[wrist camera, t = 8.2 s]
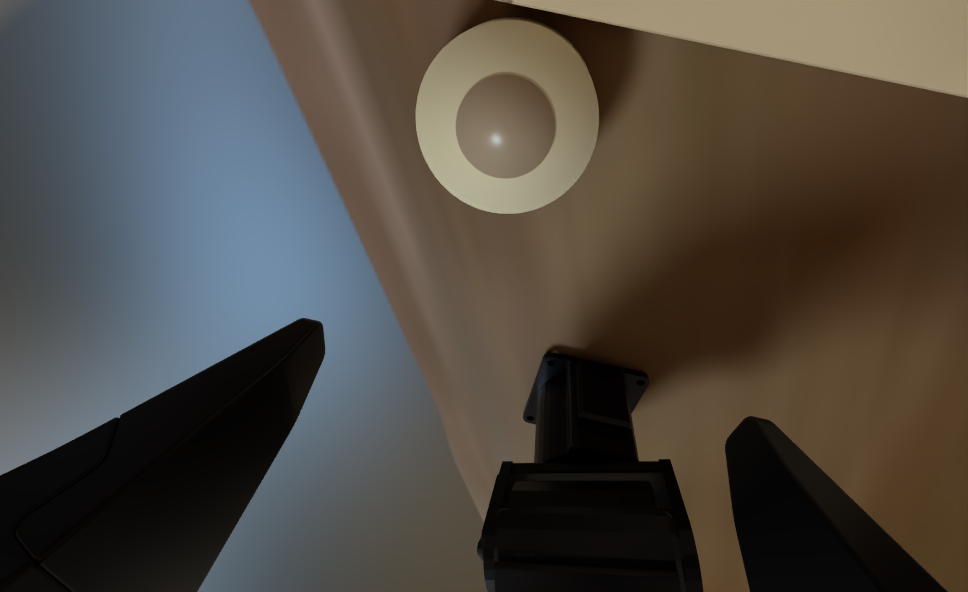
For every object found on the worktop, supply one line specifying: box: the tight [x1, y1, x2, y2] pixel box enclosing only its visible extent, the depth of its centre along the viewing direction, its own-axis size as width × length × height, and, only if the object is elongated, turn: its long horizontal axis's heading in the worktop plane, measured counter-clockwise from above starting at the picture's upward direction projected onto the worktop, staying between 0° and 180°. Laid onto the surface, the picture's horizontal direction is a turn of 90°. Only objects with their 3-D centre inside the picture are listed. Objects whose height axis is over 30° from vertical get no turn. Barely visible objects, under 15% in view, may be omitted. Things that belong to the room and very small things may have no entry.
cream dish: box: [416, 17, 599, 214], centre depth 17 cm, size 7×7×2 cm
